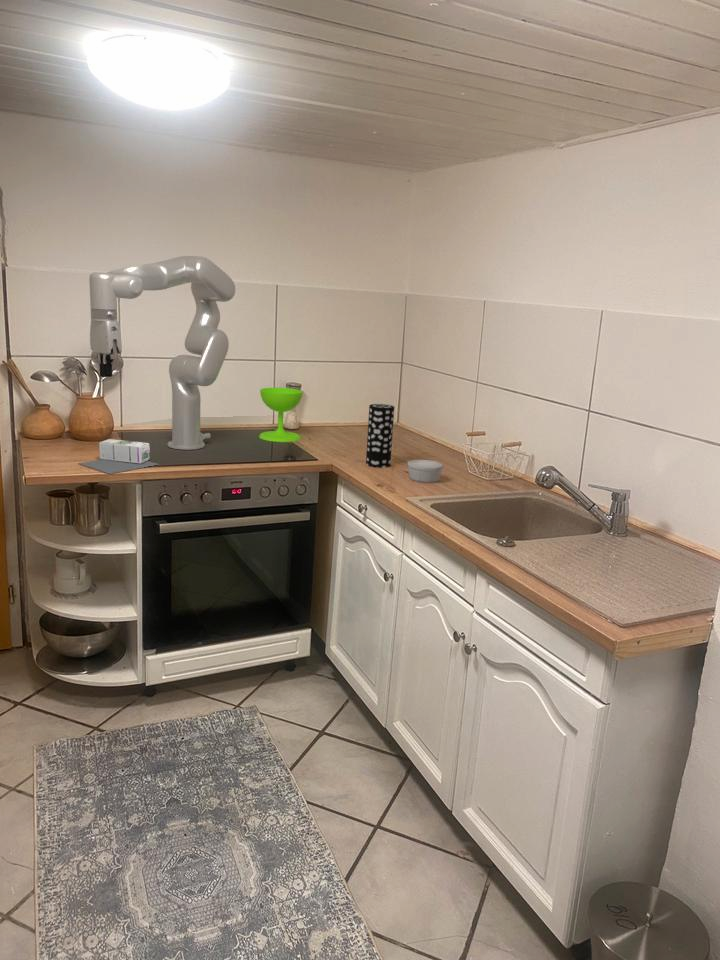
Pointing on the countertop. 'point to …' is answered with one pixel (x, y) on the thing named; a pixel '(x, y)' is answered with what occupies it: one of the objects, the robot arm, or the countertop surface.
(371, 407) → the spotted tube
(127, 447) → the syrup box
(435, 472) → the ramekin
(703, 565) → the countertop surface
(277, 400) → the wineglass
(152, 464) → the mat
